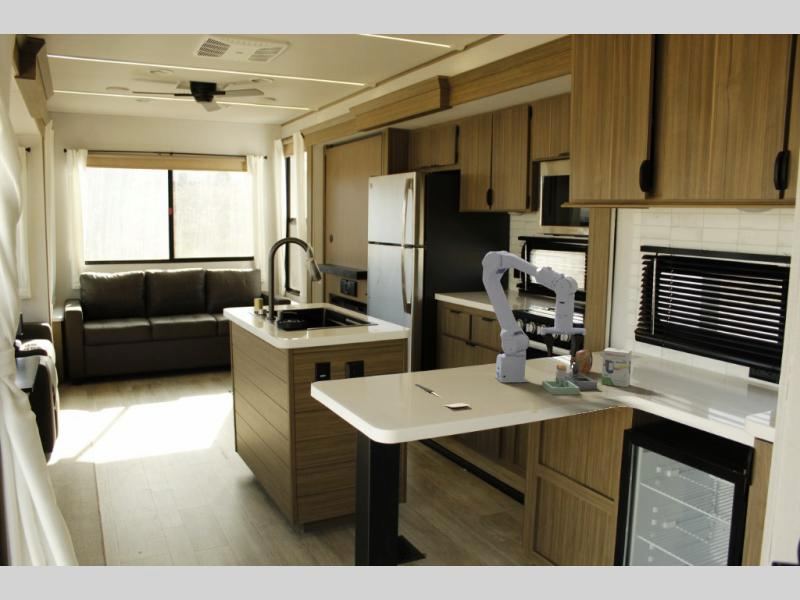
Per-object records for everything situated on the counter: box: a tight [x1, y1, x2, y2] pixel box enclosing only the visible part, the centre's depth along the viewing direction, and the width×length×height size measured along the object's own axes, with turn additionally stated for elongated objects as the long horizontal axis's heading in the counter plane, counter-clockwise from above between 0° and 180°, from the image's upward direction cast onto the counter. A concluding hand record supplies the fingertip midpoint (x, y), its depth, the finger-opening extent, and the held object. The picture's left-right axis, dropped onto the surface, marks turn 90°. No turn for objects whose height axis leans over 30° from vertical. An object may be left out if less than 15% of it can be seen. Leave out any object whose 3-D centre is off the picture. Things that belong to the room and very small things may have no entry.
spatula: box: [414, 383, 471, 408], centre depth 208 cm, size 6×29×2 cm, turn 25°
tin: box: [569, 349, 594, 375], centre depth 242 cm, size 15×3×8 cm, turn 143°
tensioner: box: [566, 362, 598, 391], centre depth 226 cm, size 7×13×7 cm, turn 8°
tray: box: [541, 380, 581, 395], centre depth 218 cm, size 9×9×2 cm
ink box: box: [601, 347, 633, 388], centre depth 228 cm, size 9×5×12 cm, turn 62°
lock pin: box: [555, 364, 567, 387], centre depth 218 cm, size 3×3×8 cm
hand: (561, 356), depth 220 cm, fingers open, 7 cm apart
